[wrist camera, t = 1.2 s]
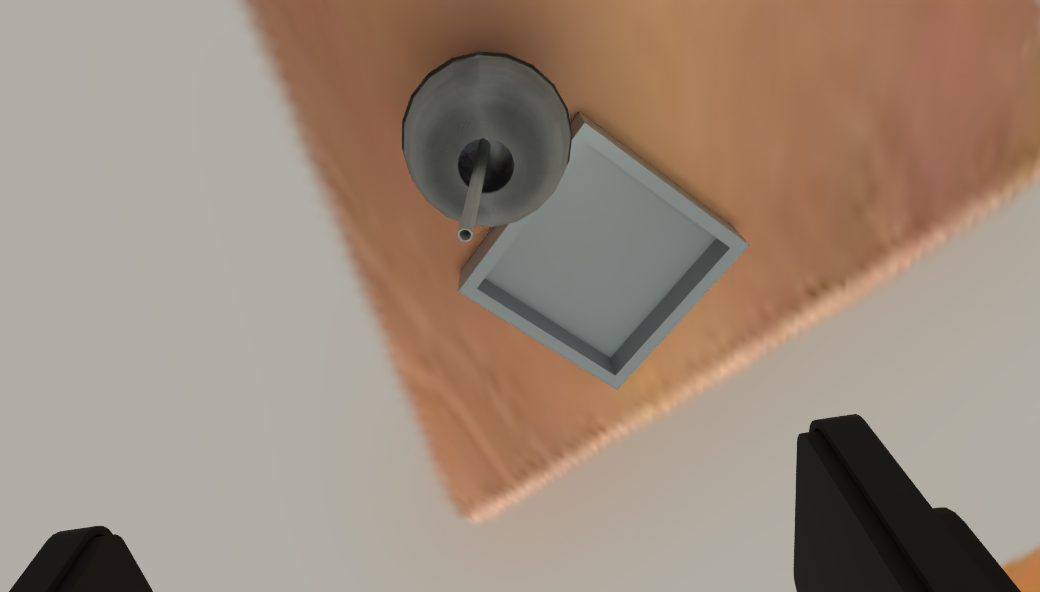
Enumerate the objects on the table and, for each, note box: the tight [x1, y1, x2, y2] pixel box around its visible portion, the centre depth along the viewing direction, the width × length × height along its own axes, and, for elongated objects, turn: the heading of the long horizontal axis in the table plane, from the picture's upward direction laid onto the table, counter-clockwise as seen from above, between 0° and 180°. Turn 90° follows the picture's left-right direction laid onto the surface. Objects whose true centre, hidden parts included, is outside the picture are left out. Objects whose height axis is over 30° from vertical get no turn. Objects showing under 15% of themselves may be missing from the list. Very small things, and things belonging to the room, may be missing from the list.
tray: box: [458, 112, 749, 390], centre depth 43 cm, size 12×12×3 cm
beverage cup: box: [402, 52, 572, 242], centre depth 31 cm, size 7×7×20 cm
